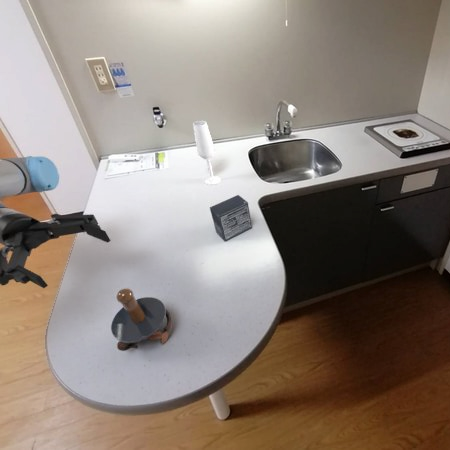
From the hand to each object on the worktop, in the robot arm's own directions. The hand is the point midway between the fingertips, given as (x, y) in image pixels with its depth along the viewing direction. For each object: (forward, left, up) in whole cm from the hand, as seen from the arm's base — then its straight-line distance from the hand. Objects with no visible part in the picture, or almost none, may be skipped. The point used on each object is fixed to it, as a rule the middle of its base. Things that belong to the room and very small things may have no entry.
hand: (76, 257), depth 60 cm
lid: (+4, -9, -15) cm, 18 cm away
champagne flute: (+46, +46, -23) cm, 69 cm away
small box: (+38, +13, -23) cm, 47 cm away
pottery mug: (+4, -8, -23) cm, 25 cm away
